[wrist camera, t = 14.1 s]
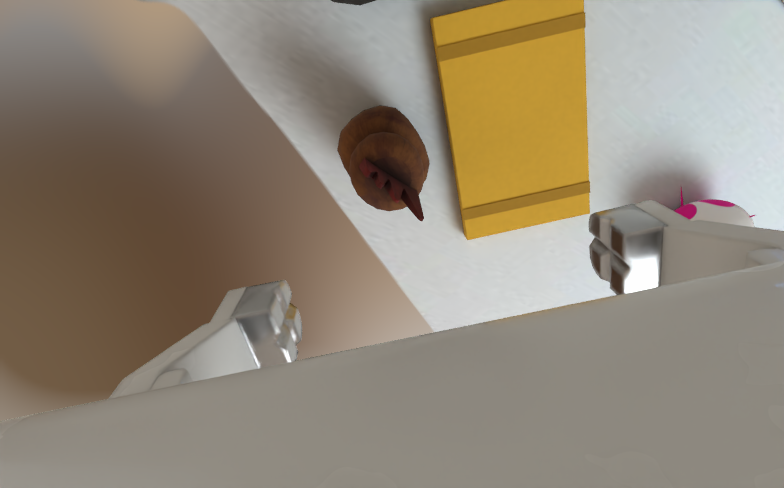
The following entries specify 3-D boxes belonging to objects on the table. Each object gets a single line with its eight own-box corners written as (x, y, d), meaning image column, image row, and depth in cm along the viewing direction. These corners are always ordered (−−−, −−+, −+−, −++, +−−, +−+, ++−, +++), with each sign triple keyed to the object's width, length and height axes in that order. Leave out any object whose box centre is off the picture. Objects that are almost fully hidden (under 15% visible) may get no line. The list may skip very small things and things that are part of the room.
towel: (576, -17, 32) (584, -19, 31) (583, 208, 39) (590, 214, 38) (429, 18, 33) (432, 17, 31) (464, 235, 40) (467, 240, 39)
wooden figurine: (433, 156, 37) (473, 220, 23) (376, 194, 38) (382, 276, 24) (388, 86, 34) (402, 110, 21) (329, 128, 35) (305, 178, 22)
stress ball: (695, 183, 43) (743, 158, 36) (732, 260, 41) (788, 249, 35) (620, 207, 43) (653, 188, 36) (654, 285, 41) (695, 279, 35)
